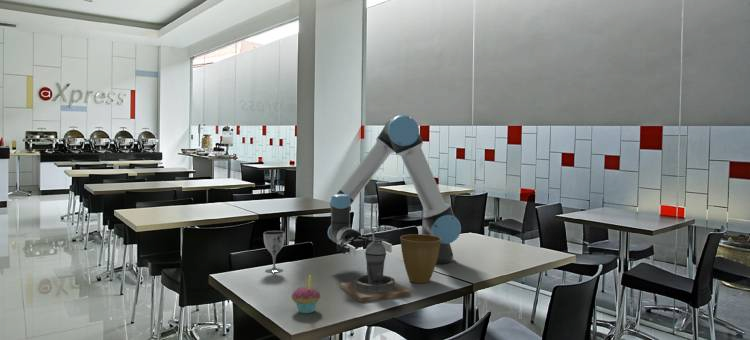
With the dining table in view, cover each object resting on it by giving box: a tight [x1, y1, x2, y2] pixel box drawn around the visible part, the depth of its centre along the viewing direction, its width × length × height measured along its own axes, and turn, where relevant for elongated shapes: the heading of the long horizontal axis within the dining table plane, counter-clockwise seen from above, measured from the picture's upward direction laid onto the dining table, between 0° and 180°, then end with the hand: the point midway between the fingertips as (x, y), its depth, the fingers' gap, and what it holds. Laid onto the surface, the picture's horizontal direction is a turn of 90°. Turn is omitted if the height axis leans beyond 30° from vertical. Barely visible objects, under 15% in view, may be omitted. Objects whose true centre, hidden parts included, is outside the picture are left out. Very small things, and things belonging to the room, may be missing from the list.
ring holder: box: [339, 274, 411, 303], centre depth 177 cm, size 18×18×4 cm
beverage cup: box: [364, 227, 387, 285], centre depth 177 cm, size 7×7×20 cm
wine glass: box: [263, 230, 286, 274], centre depth 203 cm, size 8×8×15 cm
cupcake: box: [291, 272, 321, 314], centre depth 156 cm, size 9×8×12 cm
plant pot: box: [399, 233, 441, 284], centre depth 190 cm, size 15×15×16 cm
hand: (373, 250), depth 177 cm, fingers open, 13 cm apart
